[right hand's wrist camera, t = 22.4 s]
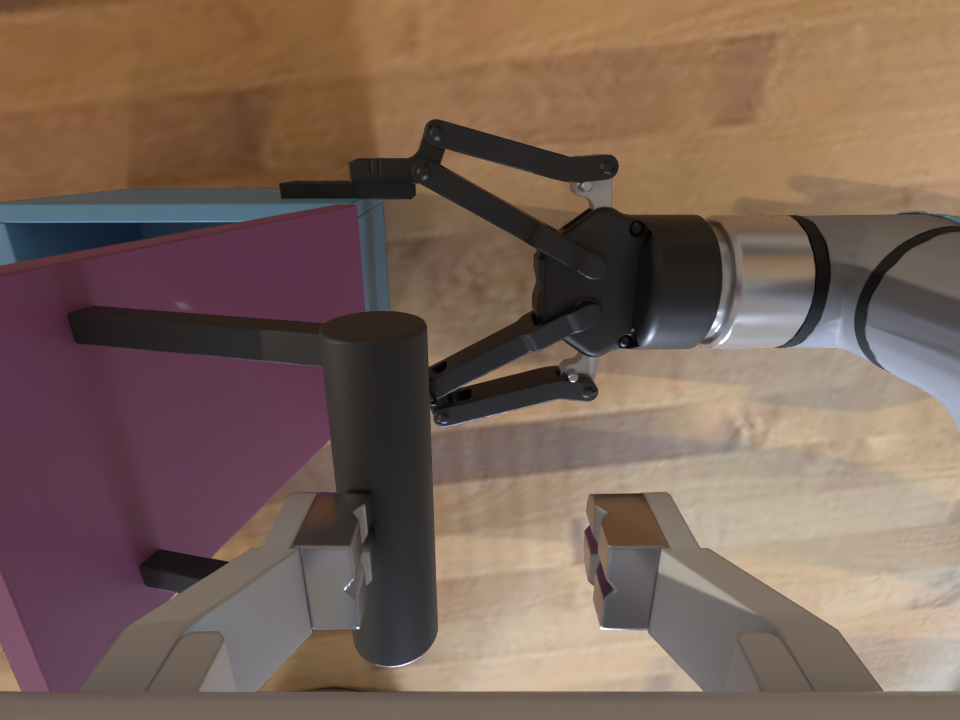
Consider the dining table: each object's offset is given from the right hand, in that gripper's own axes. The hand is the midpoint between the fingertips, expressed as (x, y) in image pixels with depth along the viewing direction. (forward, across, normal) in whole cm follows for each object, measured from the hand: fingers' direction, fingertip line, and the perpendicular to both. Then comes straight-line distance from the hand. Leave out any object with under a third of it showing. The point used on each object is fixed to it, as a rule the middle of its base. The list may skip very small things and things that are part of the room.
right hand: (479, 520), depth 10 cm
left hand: (+21, +10, 0) cm, 23 cm away
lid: (+8, +8, 0) cm, 12 cm away
